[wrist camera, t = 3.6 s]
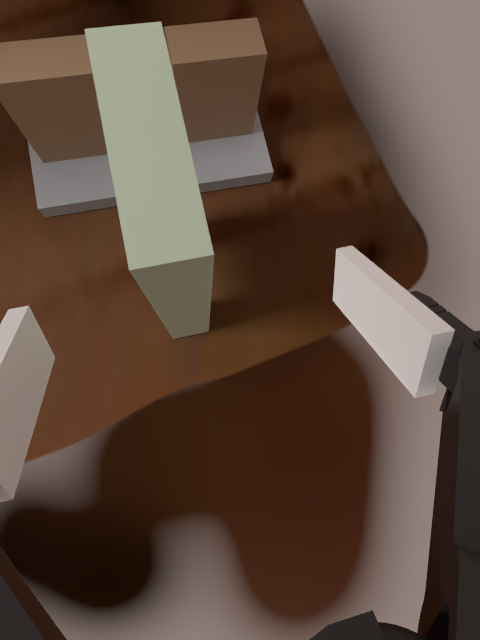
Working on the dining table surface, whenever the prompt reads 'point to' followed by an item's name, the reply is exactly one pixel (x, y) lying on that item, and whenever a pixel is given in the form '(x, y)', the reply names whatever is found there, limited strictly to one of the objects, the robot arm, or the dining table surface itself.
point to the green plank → (153, 174)
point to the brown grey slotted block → (85, 121)
